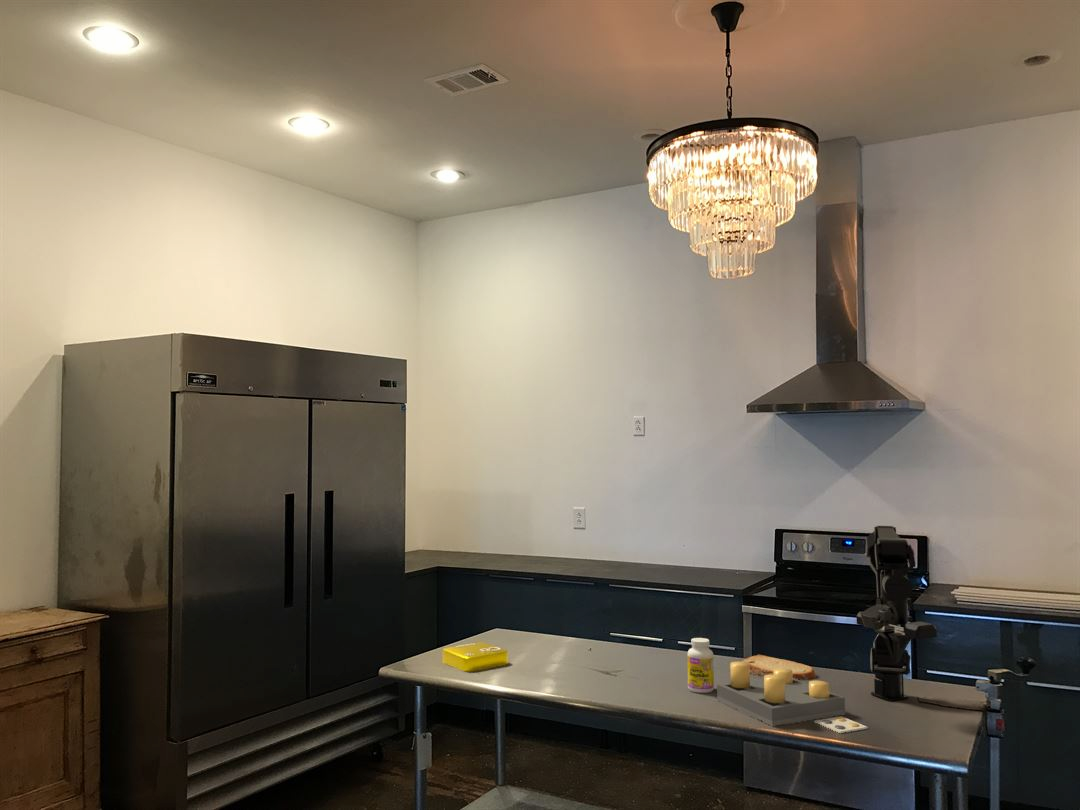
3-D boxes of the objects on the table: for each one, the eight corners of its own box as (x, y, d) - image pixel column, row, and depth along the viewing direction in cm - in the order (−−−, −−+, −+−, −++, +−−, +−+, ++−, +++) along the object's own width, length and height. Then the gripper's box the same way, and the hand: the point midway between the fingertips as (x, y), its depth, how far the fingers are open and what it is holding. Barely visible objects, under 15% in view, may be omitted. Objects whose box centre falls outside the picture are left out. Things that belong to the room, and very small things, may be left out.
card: (841, 718, 190) (841, 715, 190) (867, 728, 183) (867, 726, 183) (814, 722, 187) (814, 720, 187) (839, 733, 180) (839, 731, 180)
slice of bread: (821, 679, 223) (821, 665, 223) (760, 683, 220) (760, 669, 220) (788, 663, 241) (788, 650, 241) (731, 666, 237) (731, 653, 237)
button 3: (784, 688, 210) (784, 667, 210) (796, 693, 205) (796, 671, 206) (770, 690, 208) (769, 669, 208) (781, 695, 204) (781, 673, 204)
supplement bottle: (685, 692, 211) (684, 641, 212) (690, 685, 217) (689, 636, 218) (711, 694, 209) (710, 643, 209) (715, 687, 215) (715, 638, 216)
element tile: (482, 655, 252) (482, 639, 252) (510, 665, 240) (510, 648, 240) (440, 663, 243) (440, 646, 243) (466, 674, 231) (466, 656, 231)
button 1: (742, 682, 205) (741, 660, 205) (753, 686, 200) (753, 665, 201) (726, 684, 203) (726, 662, 203) (738, 689, 199) (737, 667, 199)
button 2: (776, 696, 193) (775, 673, 193) (789, 701, 188) (788, 678, 189) (760, 698, 191) (759, 675, 191) (773, 704, 187) (772, 680, 187)
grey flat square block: (785, 690, 212) (785, 675, 212) (845, 714, 192) (844, 697, 193) (717, 700, 204) (717, 684, 204) (772, 726, 184) (771, 708, 184)
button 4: (820, 701, 198) (819, 679, 198) (834, 707, 193) (833, 684, 194) (805, 704, 196) (804, 681, 196) (818, 709, 192) (818, 686, 192)
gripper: (837, 590, 196) (839, 656, 195) (899, 603, 179) (901, 676, 178) (873, 586, 200) (875, 651, 199) (937, 599, 183) (939, 670, 182)
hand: (896, 662), depth 189 cm, fingers closed
